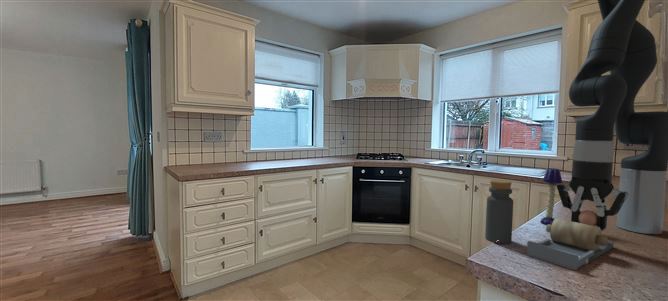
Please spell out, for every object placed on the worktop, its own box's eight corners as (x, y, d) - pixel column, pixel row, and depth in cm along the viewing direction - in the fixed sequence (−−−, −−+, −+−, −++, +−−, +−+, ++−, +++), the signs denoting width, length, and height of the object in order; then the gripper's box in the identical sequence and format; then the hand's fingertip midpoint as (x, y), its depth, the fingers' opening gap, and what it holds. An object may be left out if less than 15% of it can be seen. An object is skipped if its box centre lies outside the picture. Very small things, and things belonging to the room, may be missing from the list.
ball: (581, 223, 79) (582, 207, 78) (601, 227, 75) (602, 211, 75) (575, 225, 76) (576, 209, 76) (595, 230, 73) (596, 213, 73)
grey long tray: (568, 236, 81) (569, 225, 81) (613, 247, 74) (614, 234, 73) (526, 255, 68) (527, 241, 68) (575, 270, 61) (576, 255, 61)
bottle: (488, 234, 82) (490, 178, 81) (513, 239, 78) (516, 181, 77) (482, 240, 77) (485, 181, 76) (508, 246, 73) (511, 184, 72)
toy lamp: (562, 224, 91) (565, 168, 90) (555, 227, 88) (559, 169, 87) (544, 220, 95) (546, 167, 94) (537, 223, 92) (540, 168, 91)
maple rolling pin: (542, 241, 75) (543, 218, 74) (552, 237, 78) (553, 215, 78) (600, 257, 65) (602, 231, 65) (609, 251, 69) (611, 227, 68)
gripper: (636, 161, 71) (631, 233, 72) (564, 156, 83) (560, 219, 84) (626, 162, 67) (621, 239, 68) (552, 157, 79) (548, 223, 80)
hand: (587, 228), depth 76 cm, fingers closed on ball, 4 cm apart
